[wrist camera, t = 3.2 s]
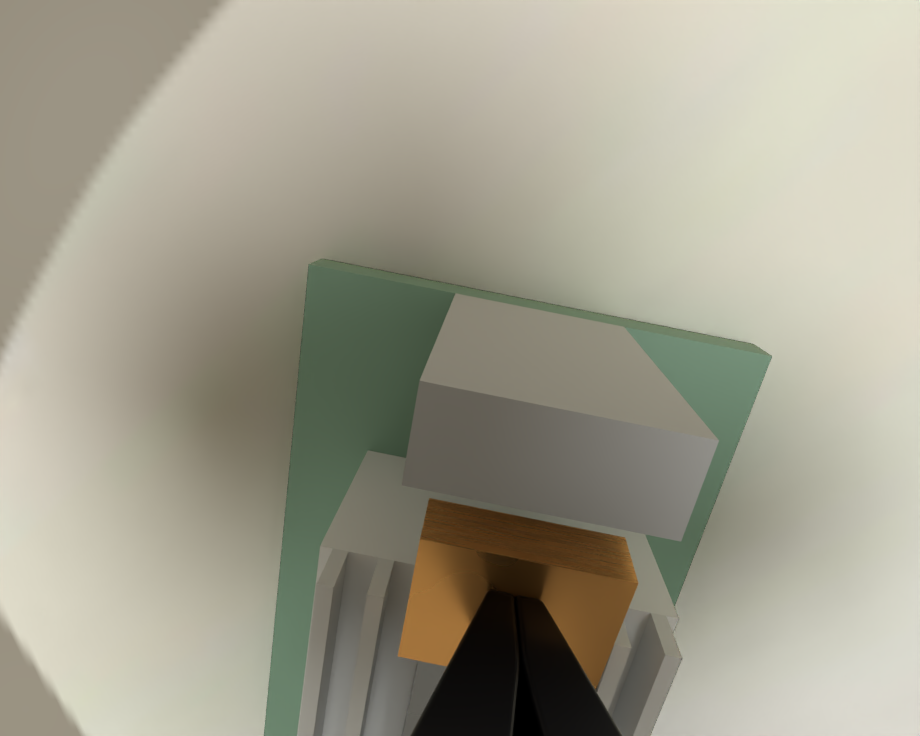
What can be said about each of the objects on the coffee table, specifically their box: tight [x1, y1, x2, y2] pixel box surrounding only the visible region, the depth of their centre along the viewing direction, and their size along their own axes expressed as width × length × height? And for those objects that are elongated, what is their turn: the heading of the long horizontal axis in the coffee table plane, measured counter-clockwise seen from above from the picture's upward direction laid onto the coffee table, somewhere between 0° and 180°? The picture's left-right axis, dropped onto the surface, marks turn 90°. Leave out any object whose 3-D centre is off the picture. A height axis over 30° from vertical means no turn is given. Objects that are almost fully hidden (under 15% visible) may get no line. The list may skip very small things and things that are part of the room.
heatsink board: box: [264, 259, 772, 736], centre depth 13 cm, size 16×11×7 cm
